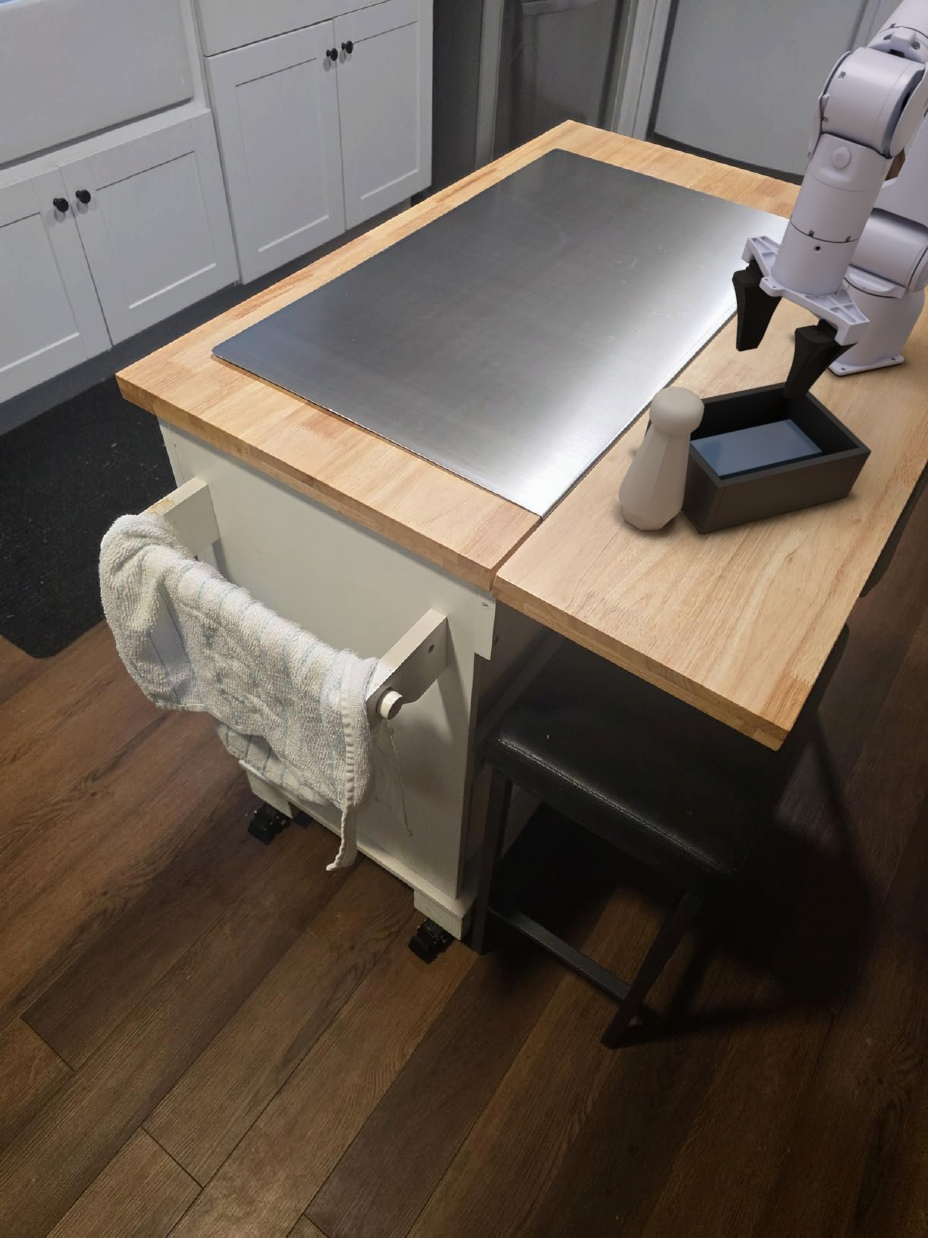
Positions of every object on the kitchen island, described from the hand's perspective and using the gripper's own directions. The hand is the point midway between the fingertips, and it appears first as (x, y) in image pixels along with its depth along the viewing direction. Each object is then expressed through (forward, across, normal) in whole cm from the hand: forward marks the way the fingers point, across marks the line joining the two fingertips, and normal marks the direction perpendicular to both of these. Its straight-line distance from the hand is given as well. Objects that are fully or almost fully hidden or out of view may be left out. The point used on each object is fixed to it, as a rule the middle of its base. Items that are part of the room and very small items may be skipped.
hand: (769, 371), depth 80 cm
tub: (+9, +3, -2) cm, 10 cm away
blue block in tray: (+9, +3, -2) cm, 9 cm away
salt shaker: (+9, +5, -14) cm, 18 cm away
